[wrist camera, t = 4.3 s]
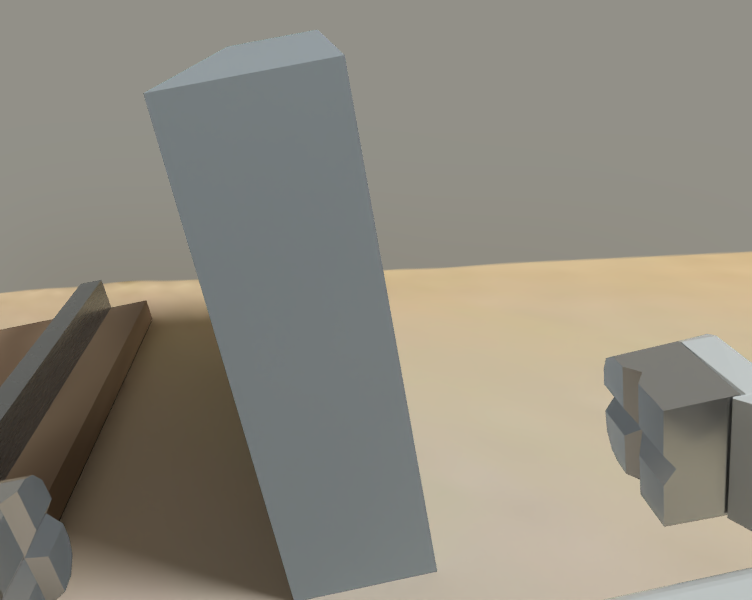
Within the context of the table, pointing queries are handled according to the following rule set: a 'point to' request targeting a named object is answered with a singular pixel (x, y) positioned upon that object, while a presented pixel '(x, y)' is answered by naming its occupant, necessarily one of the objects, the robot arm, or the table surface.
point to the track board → (64, 386)
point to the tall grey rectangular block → (299, 304)
